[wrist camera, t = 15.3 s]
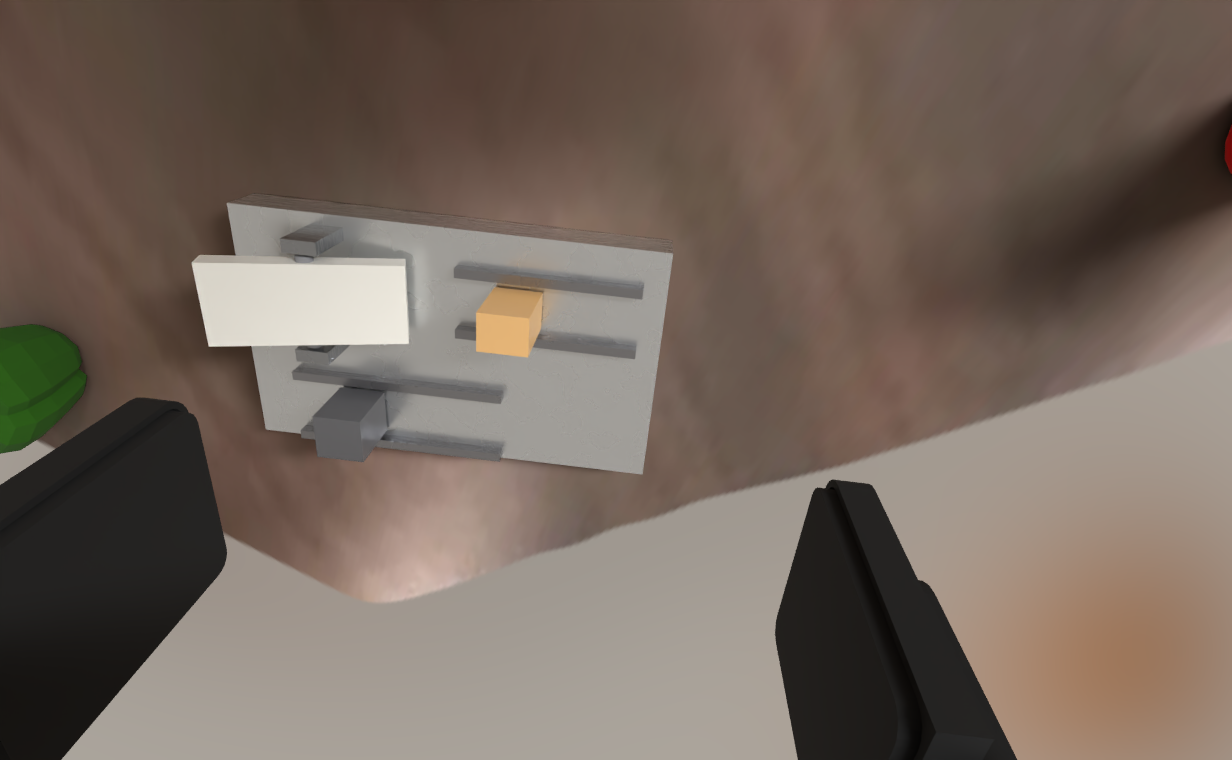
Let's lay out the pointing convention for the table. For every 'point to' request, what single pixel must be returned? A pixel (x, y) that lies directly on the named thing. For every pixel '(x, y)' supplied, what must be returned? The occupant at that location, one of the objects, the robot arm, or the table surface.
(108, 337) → the table surface
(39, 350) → the bell pepper
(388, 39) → the table surface
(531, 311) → the orange block
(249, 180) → the table surface
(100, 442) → the robot arm
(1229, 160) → the beer can
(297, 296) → the plate
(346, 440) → the fader knob
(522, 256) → the panel
